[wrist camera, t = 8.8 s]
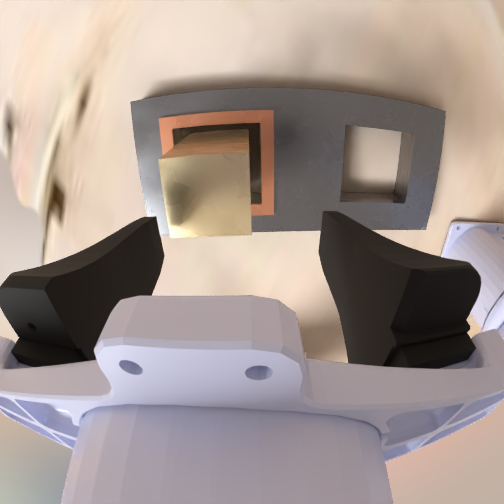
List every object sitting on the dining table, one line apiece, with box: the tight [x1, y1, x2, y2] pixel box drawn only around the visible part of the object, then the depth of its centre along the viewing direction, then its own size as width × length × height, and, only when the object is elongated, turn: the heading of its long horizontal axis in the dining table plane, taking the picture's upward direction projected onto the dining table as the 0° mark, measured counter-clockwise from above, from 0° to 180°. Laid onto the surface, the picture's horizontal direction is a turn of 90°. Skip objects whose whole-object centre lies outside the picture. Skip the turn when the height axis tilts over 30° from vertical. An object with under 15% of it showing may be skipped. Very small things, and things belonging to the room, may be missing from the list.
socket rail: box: [131, 88, 446, 236], centre depth 18 cm, size 22×10×2 cm, turn 92°
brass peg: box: [158, 129, 252, 238], centre depth 16 cm, size 4×4×8 cm
